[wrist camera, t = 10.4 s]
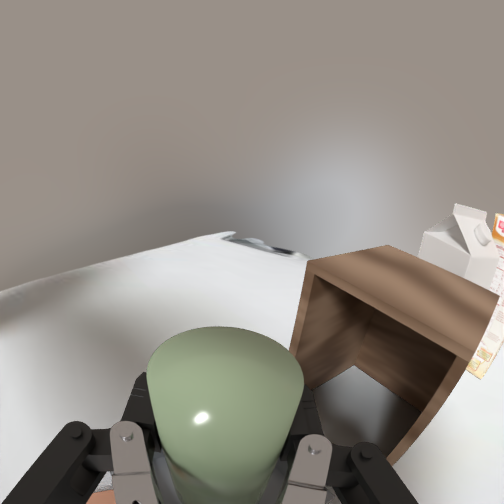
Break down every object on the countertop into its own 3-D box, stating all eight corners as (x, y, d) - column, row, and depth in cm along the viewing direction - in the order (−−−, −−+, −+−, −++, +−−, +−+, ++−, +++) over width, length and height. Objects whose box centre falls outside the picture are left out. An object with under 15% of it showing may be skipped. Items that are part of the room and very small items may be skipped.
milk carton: (385, 347, 32) (431, 195, 25) (421, 338, 33) (465, 204, 27) (417, 382, 25) (482, 213, 19) (452, 368, 27) (509, 221, 20)
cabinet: (372, 486, 14) (474, 352, 10) (276, 400, 23) (307, 260, 19) (433, 415, 20) (500, 295, 16) (352, 359, 29) (387, 244, 25)
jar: (170, 516, 9) (129, 421, 6) (179, 448, 14) (163, 321, 11) (266, 521, 10) (318, 432, 6) (260, 453, 14) (290, 330, 11)
